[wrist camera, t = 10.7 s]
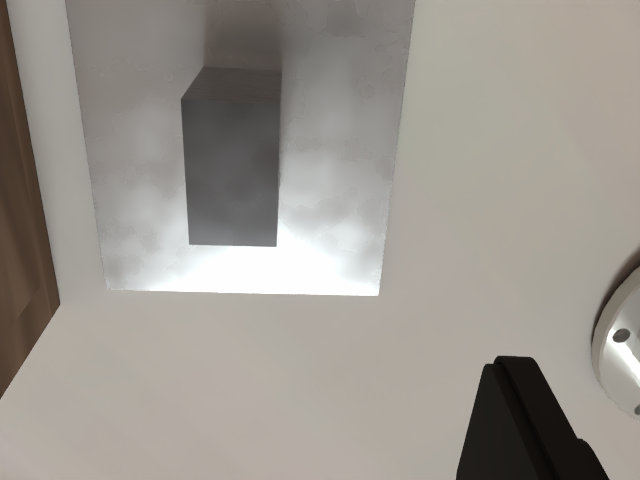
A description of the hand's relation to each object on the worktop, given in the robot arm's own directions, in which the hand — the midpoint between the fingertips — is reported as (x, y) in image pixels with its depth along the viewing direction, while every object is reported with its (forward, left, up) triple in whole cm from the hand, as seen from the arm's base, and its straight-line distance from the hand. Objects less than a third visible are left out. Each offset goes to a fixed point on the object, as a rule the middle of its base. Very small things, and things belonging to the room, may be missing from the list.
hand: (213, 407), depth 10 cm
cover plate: (+1, 0, -16) cm, 16 cm away
